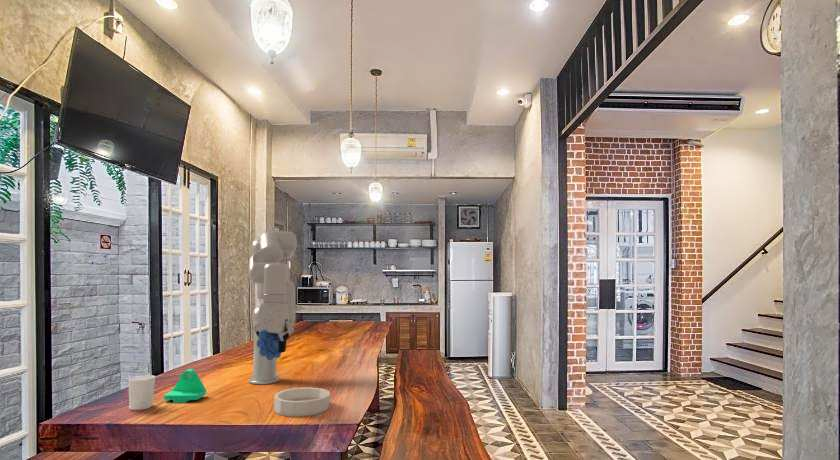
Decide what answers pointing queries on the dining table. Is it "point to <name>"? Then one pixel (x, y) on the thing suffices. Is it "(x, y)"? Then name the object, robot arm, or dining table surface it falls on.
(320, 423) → the dining table surface
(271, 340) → the blue gear
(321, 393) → the fruit bowl
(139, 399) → the white cup
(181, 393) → the camera mount
